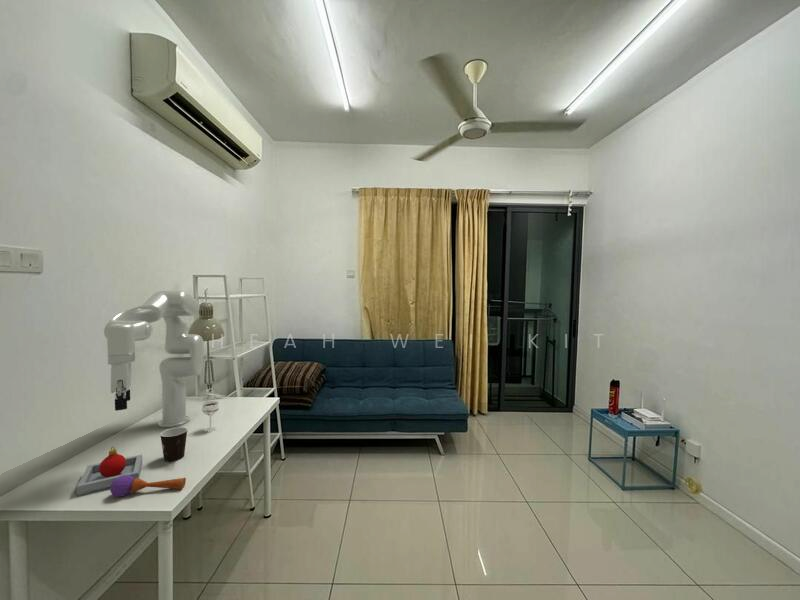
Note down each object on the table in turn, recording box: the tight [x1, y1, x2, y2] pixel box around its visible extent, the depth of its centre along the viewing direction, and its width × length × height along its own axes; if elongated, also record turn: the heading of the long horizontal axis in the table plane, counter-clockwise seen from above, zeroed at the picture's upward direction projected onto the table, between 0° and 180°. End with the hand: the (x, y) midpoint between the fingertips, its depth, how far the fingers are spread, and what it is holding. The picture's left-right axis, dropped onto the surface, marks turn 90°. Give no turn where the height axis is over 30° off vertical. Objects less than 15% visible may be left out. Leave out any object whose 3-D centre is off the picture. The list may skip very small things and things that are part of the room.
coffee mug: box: [159, 426, 188, 463], centre depth 127 cm, size 12×9×10 cm
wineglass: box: [201, 400, 220, 432], centre depth 154 cm, size 7×7×12 cm
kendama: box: [109, 475, 187, 498], centre depth 107 cm, size 6×6×20 cm
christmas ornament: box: [99, 446, 126, 477], centre depth 114 cm, size 7×7×10 cm
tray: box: [76, 454, 143, 497], centre depth 114 cm, size 15×15×3 cm
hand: (123, 405), depth 121 cm, fingers open, 9 cm apart
